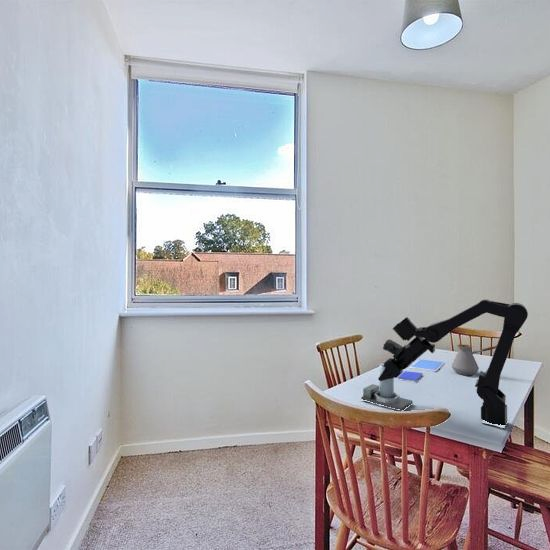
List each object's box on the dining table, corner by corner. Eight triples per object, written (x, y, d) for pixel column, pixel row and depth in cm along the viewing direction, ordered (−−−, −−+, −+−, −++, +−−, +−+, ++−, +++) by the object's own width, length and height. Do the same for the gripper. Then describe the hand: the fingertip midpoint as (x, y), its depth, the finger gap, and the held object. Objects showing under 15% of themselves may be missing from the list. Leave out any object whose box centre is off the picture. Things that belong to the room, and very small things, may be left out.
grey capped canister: (394, 397, 136) (394, 363, 136) (392, 402, 131) (392, 366, 131) (380, 395, 138) (380, 361, 138) (378, 400, 133) (378, 365, 133)
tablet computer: (419, 361, 196) (419, 358, 196) (444, 364, 188) (444, 361, 188) (409, 369, 180) (409, 366, 180) (436, 373, 173) (436, 370, 173)
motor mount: (412, 404, 132) (412, 392, 132) (402, 411, 126) (402, 399, 126) (372, 394, 143) (372, 383, 143) (361, 400, 137) (361, 389, 137)
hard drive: (404, 370, 173) (397, 377, 163) (422, 373, 168) (416, 380, 158) (404, 373, 173) (397, 380, 163) (422, 376, 168) (416, 383, 158)
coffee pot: (449, 373, 170) (448, 342, 169) (454, 368, 179) (453, 338, 179) (502, 381, 157) (502, 347, 157) (505, 375, 166) (504, 342, 166)
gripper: (403, 329, 140) (375, 354, 146) (389, 337, 124) (359, 365, 131) (425, 352, 136) (395, 377, 142) (413, 363, 120) (381, 390, 126)
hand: (382, 376), depth 135 cm, fingers open, 9 cm apart
